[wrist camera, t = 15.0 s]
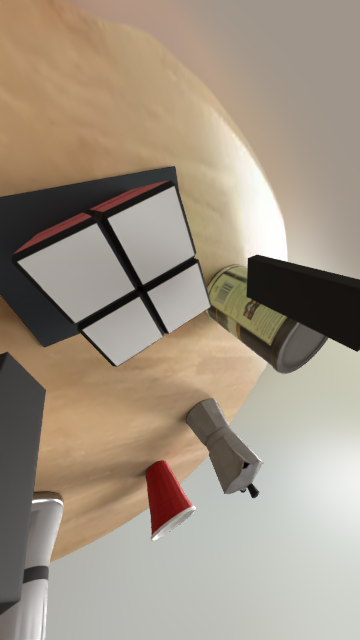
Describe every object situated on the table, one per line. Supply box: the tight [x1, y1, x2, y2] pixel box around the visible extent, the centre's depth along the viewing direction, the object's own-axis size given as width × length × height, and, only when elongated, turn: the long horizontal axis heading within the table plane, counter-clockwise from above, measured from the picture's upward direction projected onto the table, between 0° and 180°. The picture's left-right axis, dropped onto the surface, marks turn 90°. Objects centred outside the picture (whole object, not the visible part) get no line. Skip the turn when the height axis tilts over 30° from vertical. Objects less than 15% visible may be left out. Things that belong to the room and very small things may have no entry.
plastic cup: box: [146, 461, 196, 541], centre depth 45 cm, size 11×11×12 cm
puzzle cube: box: [12, 180, 211, 366], centre depth 17 cm, size 10×10×10 cm
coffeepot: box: [186, 399, 263, 498], centre depth 41 cm, size 15×9×18 cm, turn 9°
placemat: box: [0, 166, 179, 347], centre depth 21 cm, size 20×14×1 cm
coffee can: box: [205, 265, 329, 374], centre depth 27 cm, size 10×10×14 cm
